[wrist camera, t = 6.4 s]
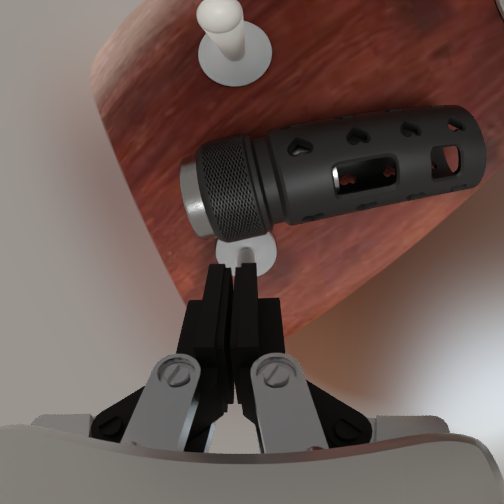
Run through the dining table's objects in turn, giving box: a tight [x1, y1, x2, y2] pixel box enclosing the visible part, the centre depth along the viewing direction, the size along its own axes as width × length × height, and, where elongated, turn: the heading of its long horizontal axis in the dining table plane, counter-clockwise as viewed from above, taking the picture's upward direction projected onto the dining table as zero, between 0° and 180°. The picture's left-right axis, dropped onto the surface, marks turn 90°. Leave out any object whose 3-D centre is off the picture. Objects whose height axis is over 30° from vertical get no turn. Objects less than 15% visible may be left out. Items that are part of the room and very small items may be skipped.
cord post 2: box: [216, 231, 277, 276], centre depth 29 cm, size 7×7×20 cm
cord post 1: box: [197, 0, 272, 86], centre depth 18 cm, size 7×7×20 cm
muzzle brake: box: [179, 105, 486, 243], centre depth 28 cm, size 10×28×10 cm, turn 104°
